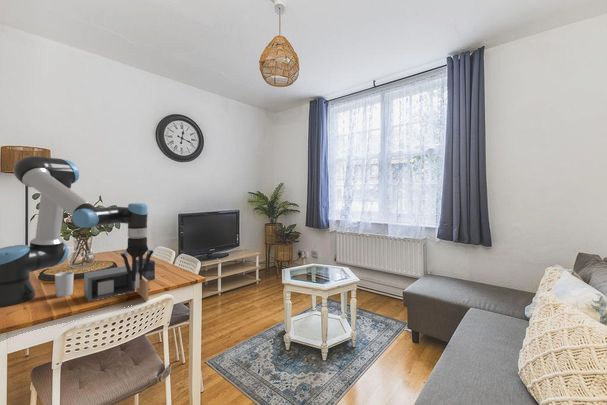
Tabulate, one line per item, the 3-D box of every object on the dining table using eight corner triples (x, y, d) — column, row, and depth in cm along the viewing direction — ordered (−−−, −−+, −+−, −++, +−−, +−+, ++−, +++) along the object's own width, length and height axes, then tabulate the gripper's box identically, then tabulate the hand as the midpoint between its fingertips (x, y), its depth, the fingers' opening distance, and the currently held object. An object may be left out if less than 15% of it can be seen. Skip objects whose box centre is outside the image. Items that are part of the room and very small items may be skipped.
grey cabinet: (88, 302, 114) (88, 278, 114) (84, 295, 121) (84, 272, 120) (135, 291, 128) (135, 269, 127) (129, 286, 134) (129, 265, 134)
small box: (132, 278, 145) (132, 260, 145) (144, 275, 151) (144, 257, 150) (143, 282, 140) (143, 263, 140) (155, 279, 146) (155, 260, 146)
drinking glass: (74, 294, 121) (74, 274, 121) (54, 298, 117) (54, 276, 116) (73, 290, 126) (73, 270, 126) (54, 294, 122) (54, 273, 121)
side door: (150, 299, 118) (151, 280, 118) (145, 301, 117) (146, 281, 116) (140, 289, 129) (141, 272, 129) (136, 290, 128) (136, 272, 127)
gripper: (121, 239, 111) (121, 293, 112) (155, 236, 120) (154, 286, 121) (119, 236, 117) (118, 287, 118) (151, 234, 126) (150, 281, 127)
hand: (136, 287), depth 119 cm, fingers closed
